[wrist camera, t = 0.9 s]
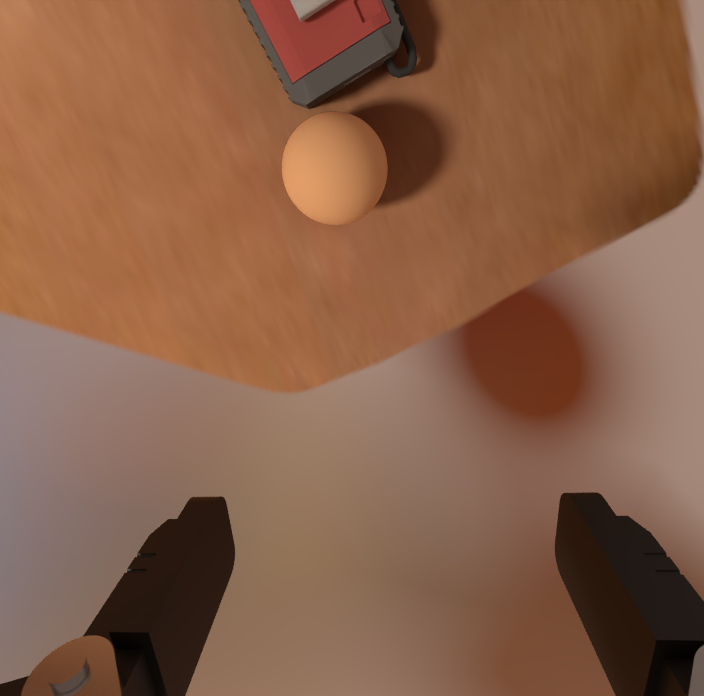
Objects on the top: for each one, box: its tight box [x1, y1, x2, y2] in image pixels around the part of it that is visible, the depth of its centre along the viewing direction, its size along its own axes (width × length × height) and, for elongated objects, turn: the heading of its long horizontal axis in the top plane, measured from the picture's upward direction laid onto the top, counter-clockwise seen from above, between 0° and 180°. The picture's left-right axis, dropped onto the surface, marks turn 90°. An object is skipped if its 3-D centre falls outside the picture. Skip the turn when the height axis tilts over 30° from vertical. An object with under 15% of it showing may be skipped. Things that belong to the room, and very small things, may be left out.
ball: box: [282, 111, 388, 225], centre depth 24 cm, size 6×6×6 cm
